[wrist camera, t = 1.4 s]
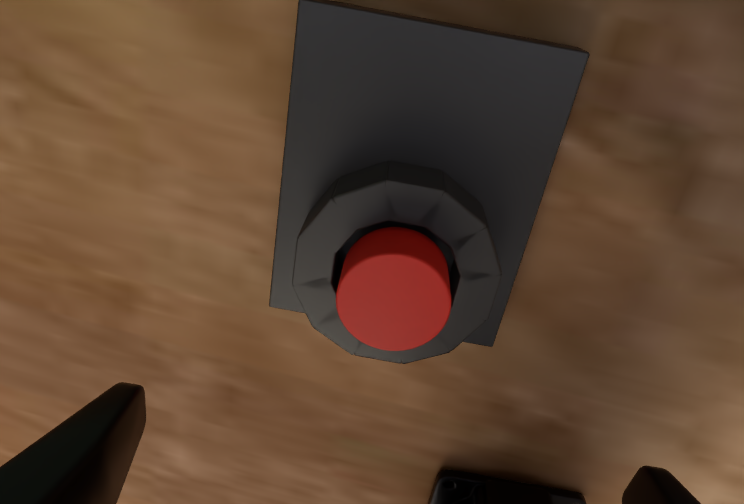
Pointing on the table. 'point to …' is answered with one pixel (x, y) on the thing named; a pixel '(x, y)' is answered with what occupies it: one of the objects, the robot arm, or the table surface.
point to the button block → (415, 157)
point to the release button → (394, 289)
